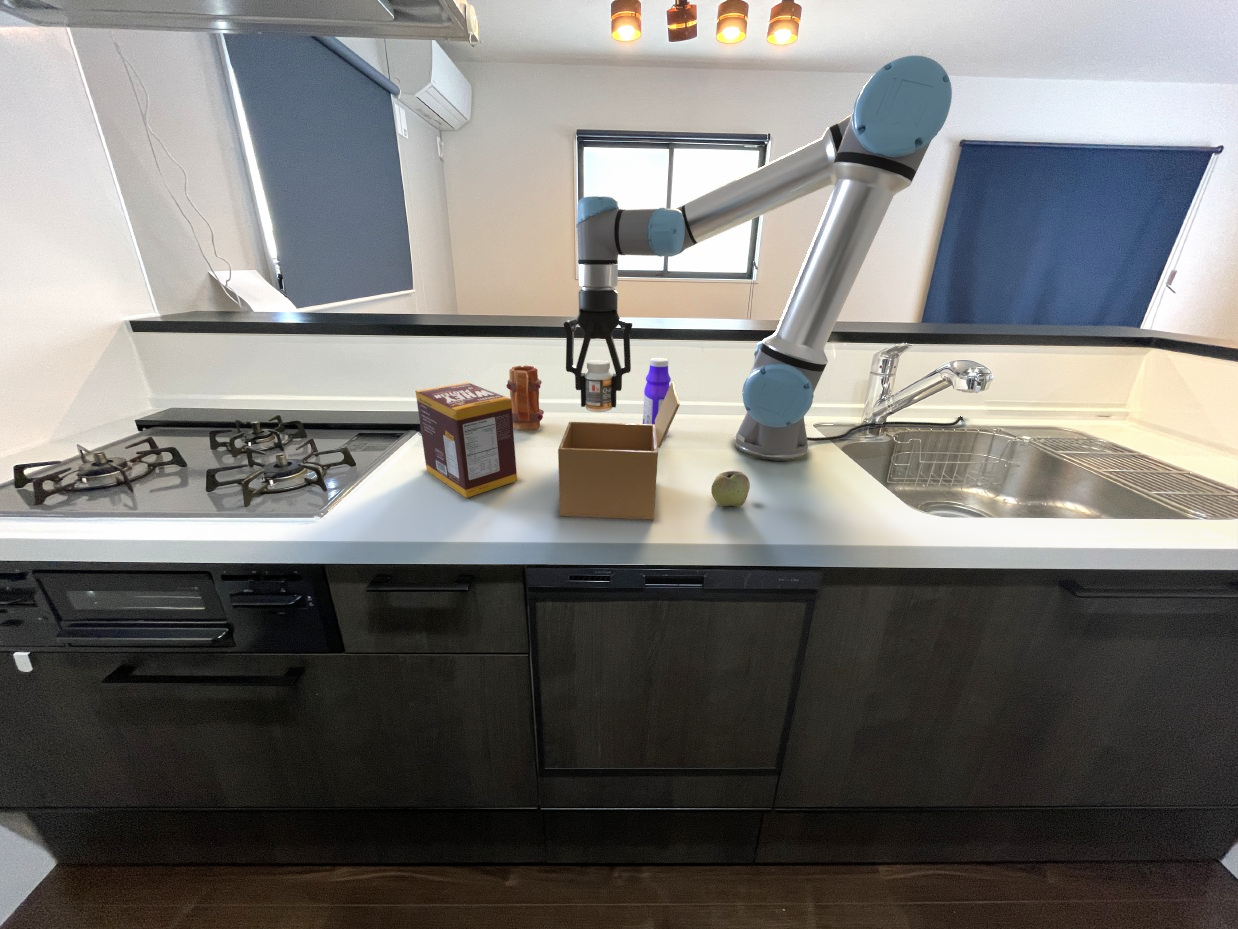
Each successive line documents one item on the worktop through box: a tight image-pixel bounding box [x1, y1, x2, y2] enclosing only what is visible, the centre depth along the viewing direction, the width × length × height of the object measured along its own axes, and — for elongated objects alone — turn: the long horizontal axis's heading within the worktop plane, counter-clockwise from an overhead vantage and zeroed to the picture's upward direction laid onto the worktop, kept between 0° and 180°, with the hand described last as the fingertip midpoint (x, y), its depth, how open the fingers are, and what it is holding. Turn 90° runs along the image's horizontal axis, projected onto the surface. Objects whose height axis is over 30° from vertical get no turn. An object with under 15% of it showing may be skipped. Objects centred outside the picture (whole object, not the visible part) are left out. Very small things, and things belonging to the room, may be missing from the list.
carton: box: [557, 421, 659, 520], centre depth 82 cm, size 15×13×12 cm
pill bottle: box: [585, 359, 613, 413], centre depth 102 cm, size 6×6×10 cm
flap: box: [655, 381, 681, 450], centre depth 78 cm, size 7×13×1 cm
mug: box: [505, 364, 545, 431], centre depth 111 cm, size 15×8×15 cm, turn 6°
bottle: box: [642, 357, 672, 436], centre depth 112 cm, size 7×6×17 cm
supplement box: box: [414, 381, 518, 499], centre depth 88 cm, size 10×15×16 cm
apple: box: [710, 470, 751, 508], centre depth 82 cm, size 6×8×6 cm
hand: (598, 405), depth 103 cm, fingers closed on pill bottle, 6 cm apart
